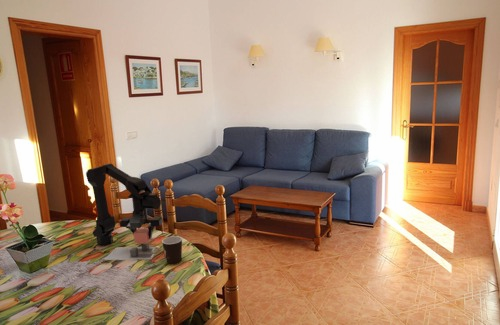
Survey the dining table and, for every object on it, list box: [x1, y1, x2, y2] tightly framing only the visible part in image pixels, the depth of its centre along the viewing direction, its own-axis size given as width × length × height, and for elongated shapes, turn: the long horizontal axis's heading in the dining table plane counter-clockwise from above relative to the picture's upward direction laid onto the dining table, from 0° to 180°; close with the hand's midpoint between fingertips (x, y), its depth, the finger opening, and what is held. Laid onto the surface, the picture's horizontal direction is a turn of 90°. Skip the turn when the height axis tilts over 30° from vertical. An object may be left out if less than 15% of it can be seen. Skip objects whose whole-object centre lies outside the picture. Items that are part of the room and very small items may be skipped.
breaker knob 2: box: [140, 241, 150, 251], centre depth 177 cm, size 2×3×3 cm
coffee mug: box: [161, 235, 183, 266], centre depth 168 cm, size 12×9×10 cm
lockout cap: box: [132, 227, 153, 245], centre depth 176 cm, size 6×6×5 cm
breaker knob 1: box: [130, 246, 139, 257], centre depth 171 cm, size 2×3×3 cm
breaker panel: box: [103, 245, 161, 261], centre depth 175 cm, size 22×13×2 cm, turn 85°
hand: (143, 239), depth 176 cm, fingers closed on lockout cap, 6 cm apart
